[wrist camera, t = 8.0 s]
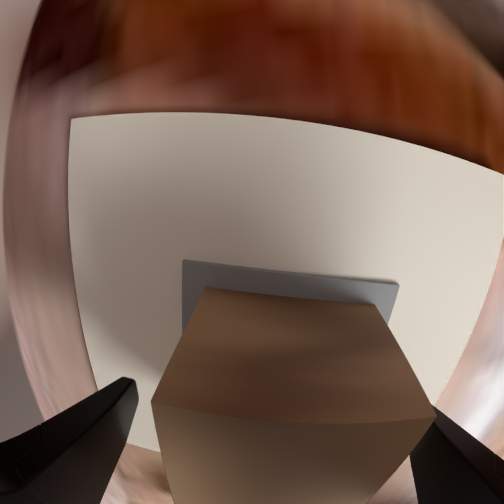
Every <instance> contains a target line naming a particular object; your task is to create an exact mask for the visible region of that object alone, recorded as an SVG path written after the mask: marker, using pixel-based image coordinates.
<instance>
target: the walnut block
mask: <svg viewBox="0 0 504 504" xmlns="http://www.w3.org/2000/svg"><path fill="white" fill-rule="evenodd" d="M150 402H151V408H152V413H153V418H154V423H155V428H156V433H157V438H158V443H159V447H160V451H161V456H162V460H163V464H164V468H165V472H166V476H167V479H168V483H169V487H170V490H171V494H172V497H173V501H174V504H365V503H366V502H367V501H368V500H369V499H370V498H371V497H372V496H373V495H374V494H375V493H376V492H377V491H378V490H379V489H380V488H381V487H382V486H383V485H384V483H385V482H386V481H387V480H388V479H389V478H390V477H391V476H392V474H393V473H394V472H395V471H396V470H397V469H398V467H399V466H400V465H401V464H402V463H403V461H404V460H405V459H406V458H407V457H408V455H409V454H410V453H411V451H412V450H413V449H414V448H415V446H416V445H417V444H418V442H419V441H420V440H421V438H422V437H423V435H424V434H425V433H426V431H427V430H428V428H429V427H430V426H431V424H432V423H433V421H434V420H435V418H436V417H437V415H436V413H435V411H434V409H433V407H432V405H431V403H430V401H429V399H428V397H427V395H426V393H425V391H424V390H423V388H422V386H421V384H420V382H419V380H418V378H417V376H416V375H415V373H414V371H413V369H412V367H411V365H410V364H409V362H408V360H407V358H406V356H405V355H404V353H403V351H402V349H401V348H400V346H399V344H398V342H397V341H396V339H395V337H394V335H393V334H392V332H391V330H390V329H389V327H388V325H387V324H386V322H385V320H384V319H383V317H382V315H381V314H380V312H379V310H378V309H377V307H376V306H375V305H372V304H360V303H348V302H337V301H326V300H316V299H306V298H296V297H287V296H278V295H269V294H261V293H252V292H244V291H236V290H228V289H220V288H213V287H205V289H204V291H203V293H202V295H201V297H200V299H199V301H198V303H197V305H196V307H195V309H194V311H193V313H192V315H191V317H190V319H189V321H188V324H187V326H186V328H185V330H184V332H183V334H182V336H181V338H180V340H179V342H178V344H177V346H176V348H175V350H174V352H173V354H172V357H171V359H170V361H169V363H168V365H167V367H166V369H165V371H164V373H163V375H162V378H161V380H160V382H159V384H158V386H157V388H156V390H155V392H154V395H153V397H152V399H151V401H150Z"/></svg>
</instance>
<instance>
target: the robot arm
mask: <svg viewBox="0 0 504 504" xmlns="http://www.w3.org/2000/svg"><path fill="white" fill-rule="evenodd" d="M138 402H139V395H138V390H137V385H136V381H135V380H134V379H132V378H128V377H120V378H119V379H117V380H115V381H114V382H112V383H110V384H109V385H107V386H105V387H104V388H102V389H100V390H99V391H97V392H95V393H94V394H92V395H90V396H89V397H87V398H85V399H83V400H82V401H80V402H78V403H77V404H75V405H73V406H71V407H70V408H68V409H66V410H64V411H63V412H61V413H59V414H57V415H56V416H54V417H52V418H50V419H48V420H47V421H45V422H43V423H41V425H37V426H36V427H34V428H32V429H30V430H28V431H26V432H24V433H22V434H21V435H18V436H16V437H14V438H11V439H9V440H6V441H4V442H1V443H0V504H100V502H101V500H102V497H103V495H104V493H105V490H106V488H107V485H108V483H109V481H110V478H111V476H112V474H113V472H114V469H115V467H116V465H117V462H118V460H119V458H120V455H121V453H122V451H123V449H124V446H125V444H126V442H127V439H128V435H129V432H130V429H131V425H132V422H133V419H134V416H135V412H136V409H137V406H138ZM431 405H432V404H431ZM432 407H433V409H434V411H435V413H436V415H437V417H436V418H435V420H434V421H433V423H432V424H431V426H430V427H429V428H428V430H427V431H426V433H425V434H424V435H423V437H422V438H421V440H420V441H419V442H418V444H417V445H416V446H415V448H414V449H413V450H412V451H411V453H410V454H409V455H410V462H411V467H412V472H413V477H414V482H415V487H416V493H417V499H418V504H504V460H503V459H502V458H500V457H499V456H498V455H496V454H494V452H492V451H491V450H490V449H489V448H487V447H486V446H485V445H483V444H482V443H481V442H479V441H478V440H477V439H476V438H474V437H473V436H472V435H470V434H469V433H468V432H467V431H465V430H464V429H463V428H461V427H460V426H459V425H457V424H456V423H455V422H454V421H452V420H451V419H450V418H448V417H447V416H446V415H445V414H443V413H442V412H441V411H440V410H438V409H437V408H436V407H434V406H433V405H432Z"/></svg>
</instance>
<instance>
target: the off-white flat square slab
mask: <svg viewBox="0 0 504 504" xmlns="http://www.w3.org/2000/svg"><path fill="white" fill-rule="evenodd" d="M68 209H69V230H70V243H71V254H72V264H73V273H74V280H75V287H76V294H77V300H78V306H79V312H80V317H81V323H82V328H83V333H84V337H85V342H86V346H87V350H88V354H89V359H90V362H91V366H92V370H93V374H94V377H95V381H96V384H97V388H98V391H99V390H100V389H102V388H104V387H105V386H107V385H109V384H110V383H112V382H114V381H115V380H117V379H119V378H120V377H128V378H132V379H134V380H135V381H136V385H137V390H138V395H139V402H138V406H137V409H136V412H135V416H134V419H133V422H132V425H131V429H130V432H129V435H128V439H127V442H126V443H129V444H132V445H136V446H139V447H142V448H146V449H150V450H153V451H157V452H161V451H160V447H159V443H158V438H157V433H156V428H155V423H154V418H153V413H152V408H151V402H150V401H151V399H152V397H153V395H154V392H155V390H156V388H157V386H158V384H159V382H160V380H161V378H162V375H163V373H164V371H165V369H166V367H167V365H168V363H169V361H170V359H171V357H172V354H173V352H174V350H175V348H176V346H177V344H178V342H179V340H180V338H181V336H182V334H183V332H184V330H185V328H186V326H187V324H188V321H189V319H190V317H191V315H192V313H193V311H194V309H195V307H196V305H197V303H198V301H199V299H200V297H201V295H202V293H203V291H204V289H205V287H213V288H220V289H228V290H236V291H244V292H252V293H261V294H269V295H278V296H287V297H296V298H306V299H316V300H326V301H337V302H348V303H360V304H372V305H375V306H376V307H377V309H378V310H379V312H380V314H381V315H382V317H383V319H384V320H385V322H386V324H387V325H388V327H389V329H390V330H391V332H392V334H393V335H394V337H395V339H396V341H397V342H398V344H399V346H400V348H401V349H402V351H403V353H404V355H405V356H406V358H407V360H408V362H409V364H410V365H411V367H412V369H413V371H414V373H415V375H416V376H417V378H418V380H419V382H420V384H421V386H422V388H423V390H424V391H425V393H426V395H427V397H428V399H429V401H430V403H431V404H432V405H433V406H434V405H435V403H436V401H437V400H438V398H439V396H440V395H441V393H442V391H443V389H444V388H445V386H446V384H447V382H448V380H449V379H450V377H451V375H452V373H453V371H454V369H455V367H456V365H457V363H458V361H459V359H460V357H461V355H462V353H463V351H464V349H465V347H466V344H467V342H468V340H469V338H470V336H471V333H472V331H473V329H474V326H475V324H476V321H477V319H478V316H479V314H480V311H481V309H482V306H483V303H484V301H485V298H486V295H487V292H488V289H489V286H490V283H491V280H492V277H493V274H494V270H495V267H496V264H497V260H498V256H499V253H500V249H501V245H502V241H503V237H504V175H503V174H500V173H498V172H495V171H493V170H490V169H488V168H485V167H483V166H480V165H477V164H475V163H472V162H469V161H466V160H463V159H461V158H458V157H455V156H452V155H449V154H445V153H442V152H439V151H436V150H433V149H429V148H426V147H422V146H419V145H415V144H412V143H408V142H404V141H400V140H396V139H392V138H388V137H384V136H380V135H375V134H371V133H366V132H362V131H357V130H352V129H346V128H341V127H336V126H330V125H324V124H318V123H311V122H304V121H297V120H289V119H281V118H272V117H262V116H251V115H238V114H221V113H192V112H159V113H130V114H114V115H102V116H91V117H82V118H73V119H71V128H70V141H69V162H68Z"/></svg>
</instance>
